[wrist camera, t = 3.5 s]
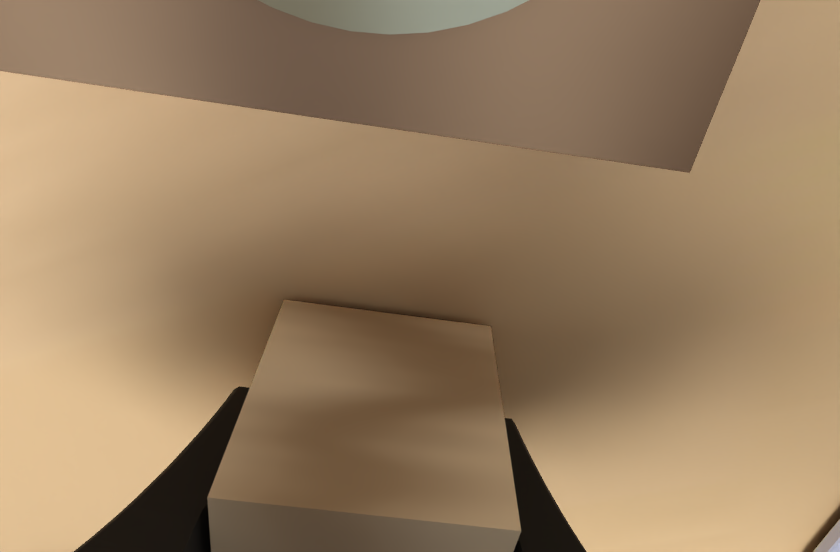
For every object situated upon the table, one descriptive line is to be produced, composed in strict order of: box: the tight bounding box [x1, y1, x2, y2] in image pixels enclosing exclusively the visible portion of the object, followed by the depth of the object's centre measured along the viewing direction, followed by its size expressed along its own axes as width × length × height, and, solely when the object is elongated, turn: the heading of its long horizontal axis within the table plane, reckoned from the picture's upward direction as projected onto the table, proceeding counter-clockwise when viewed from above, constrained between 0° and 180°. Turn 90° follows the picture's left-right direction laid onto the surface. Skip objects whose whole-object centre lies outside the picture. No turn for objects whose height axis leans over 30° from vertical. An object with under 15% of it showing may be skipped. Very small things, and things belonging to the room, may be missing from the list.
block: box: [207, 300, 521, 552], centre depth 12 cm, size 4×4×5 cm
